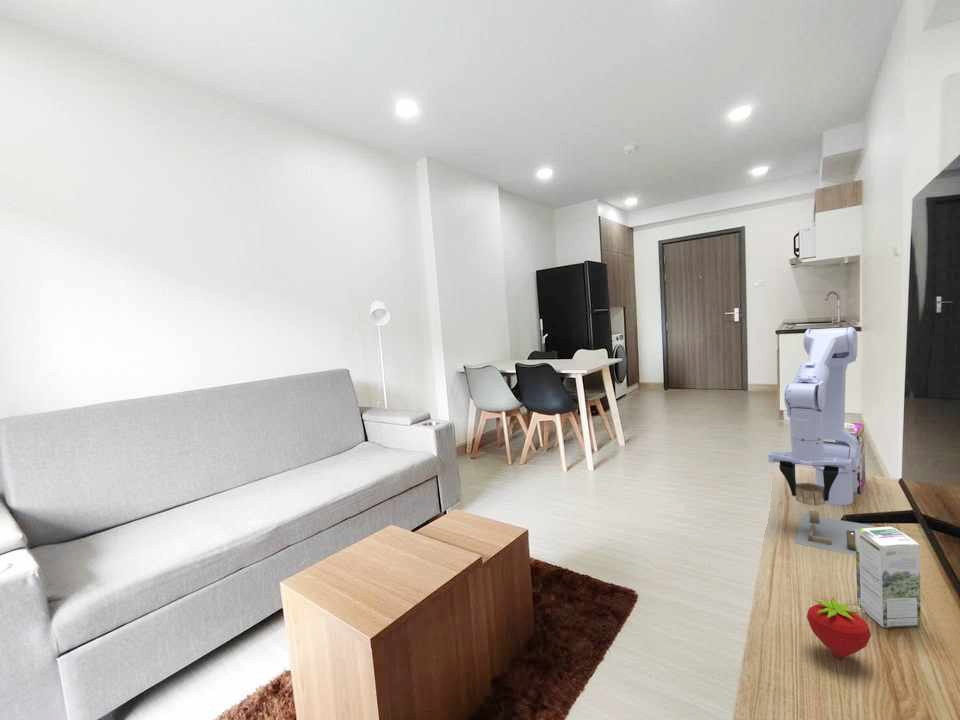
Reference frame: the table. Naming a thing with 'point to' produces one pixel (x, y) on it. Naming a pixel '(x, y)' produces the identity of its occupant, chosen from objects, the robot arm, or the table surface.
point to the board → (826, 532)
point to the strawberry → (838, 628)
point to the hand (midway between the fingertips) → (810, 496)
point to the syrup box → (888, 576)
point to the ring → (810, 494)
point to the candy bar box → (859, 473)
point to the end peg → (851, 540)
